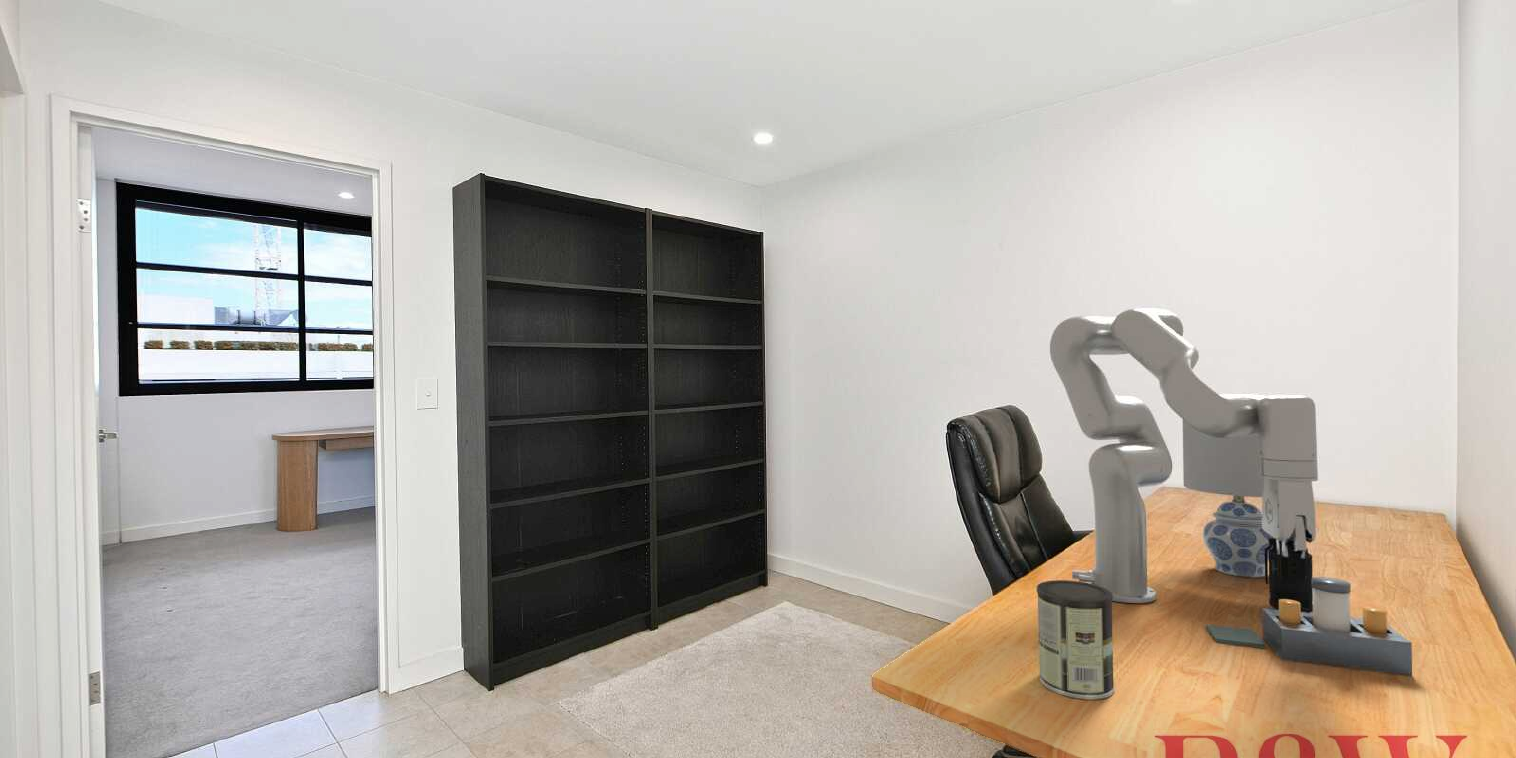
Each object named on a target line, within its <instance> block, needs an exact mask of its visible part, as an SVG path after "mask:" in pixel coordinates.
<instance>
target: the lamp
mask: <svg viewBox="0 0 1516 758" xmlns="http://www.w3.org/2000/svg"><path fill="white" fill-rule="evenodd" d="M1259 458H1260V457H1259V435H1258V436H1246V437H1228V438H1212V437H1209V436H1206V435H1203V434H1202V433H1200V432H1198V431H1196V430H1195V429H1194V428H1192V427H1191V426H1190V425H1189V424H1188V423H1186V422H1185V421H1184V420H1183V419H1182V462H1183V463H1182V464H1183V465H1182V468H1183V469H1182V470H1183V472H1182V473H1183V476H1182V477H1183V487H1185V488H1187V489H1189V490H1193V491H1198V492H1201V493H1206V494H1207V493H1208V494H1216V495H1223V496H1232V497H1233V498H1232V500H1231V501H1226V502H1223V503H1221V504H1220V505H1219V506H1218V507H1217V510H1216V511H1215V512H1213V513H1212V515H1211V516H1212V517H1214V518H1215V519H1214V520H1211V521H1209V522H1208V523H1206V524H1205V526H1204V528H1203V530H1202V540H1203V542H1204V545H1205V546H1206V549H1207V550H1208V552H1209V553H1210V555H1211V556H1212V558H1213V559H1214V561H1215V562H1214V563H1215V565H1214V569H1215V570H1216V571H1218V572H1219V573H1222V574H1226V575H1228V576H1234V577H1240V578H1241V577H1242V578H1263V577H1265V550H1264V549H1265V548H1267V547H1268V546H1269V545H1270V544H1269V542H1268V539H1269V538H1274V537H1272V536H1271V535H1269V534H1268V533H1266V532H1265V531H1264V530H1263V528H1262V511H1260V509H1259V508H1258V507H1257V506H1256V505H1254V504H1252V503H1249V502H1246V500H1245V497H1249V498H1250V497H1252V498H1262V494H1263V482H1264V478H1261V477H1260V461H1259ZM1272 548H1273V545H1272ZM1272 548H1271V549H1272ZM1269 550H1270V549H1269ZM1269 550H1268V551H1267V552H1268V563H1269Z"/></svg>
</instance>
